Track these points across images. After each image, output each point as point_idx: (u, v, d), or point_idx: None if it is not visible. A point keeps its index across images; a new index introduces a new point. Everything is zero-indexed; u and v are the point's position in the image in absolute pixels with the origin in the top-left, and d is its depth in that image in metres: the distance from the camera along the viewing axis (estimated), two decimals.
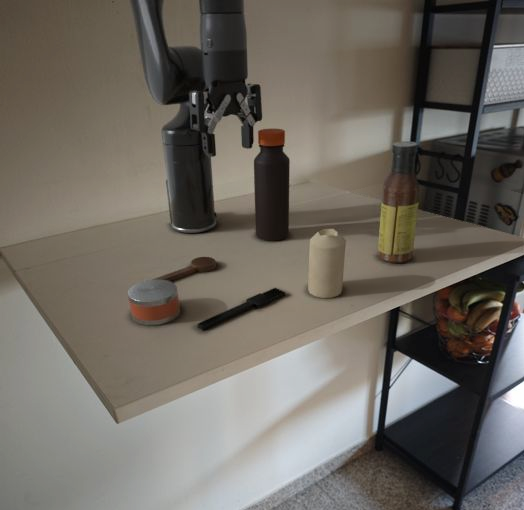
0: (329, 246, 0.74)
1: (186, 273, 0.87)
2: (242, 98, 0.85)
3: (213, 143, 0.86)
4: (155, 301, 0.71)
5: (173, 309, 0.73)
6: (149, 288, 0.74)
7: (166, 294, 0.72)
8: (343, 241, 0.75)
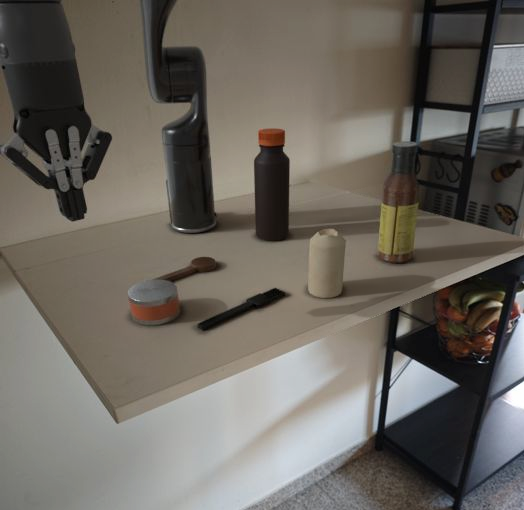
0: (329, 246, 0.74)
1: (186, 273, 0.87)
2: (77, 137, 0.56)
3: (71, 203, 0.59)
4: (155, 301, 0.71)
5: (173, 309, 0.73)
6: (149, 288, 0.74)
7: (166, 294, 0.72)
8: (343, 241, 0.75)
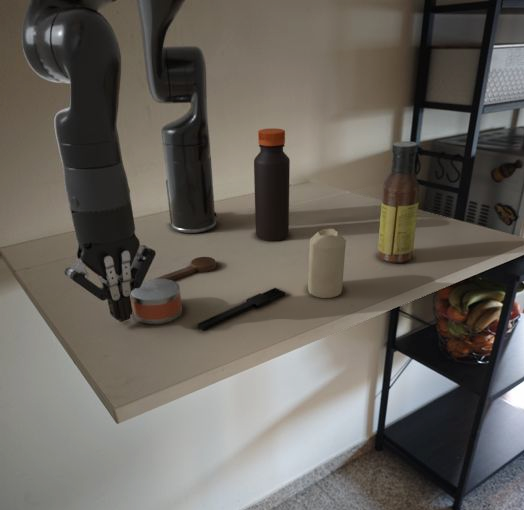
0: (329, 246, 0.74)
1: (186, 273, 0.87)
2: (128, 259, 0.67)
3: (121, 308, 0.70)
4: (158, 300, 0.71)
5: (176, 308, 0.74)
6: (152, 287, 0.74)
7: (169, 293, 0.73)
8: (343, 241, 0.75)
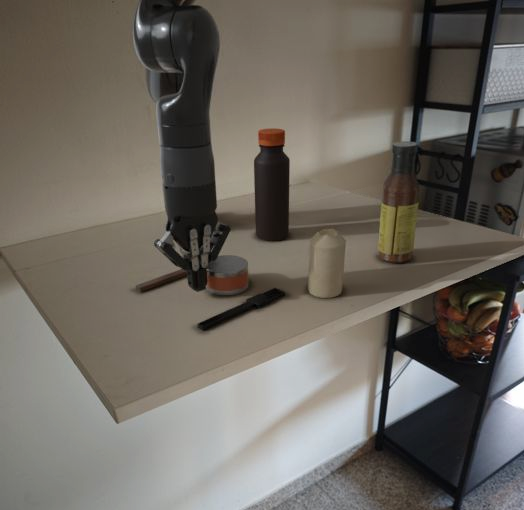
0: (329, 246, 0.74)
1: (186, 273, 0.87)
2: (209, 232, 0.74)
3: (199, 279, 0.77)
4: (231, 273, 0.78)
5: (245, 280, 0.81)
6: (222, 262, 0.82)
7: (239, 267, 0.80)
8: (343, 241, 0.75)
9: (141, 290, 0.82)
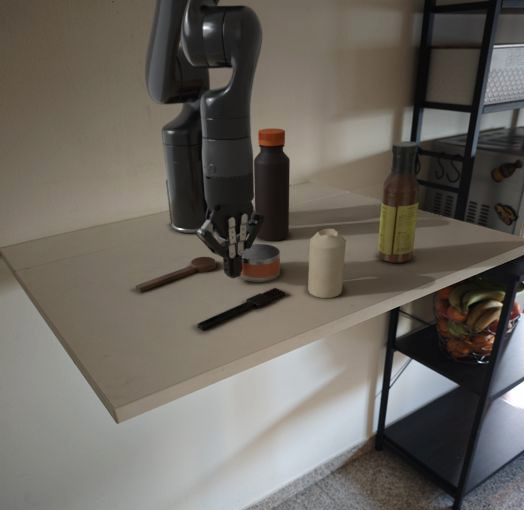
0: (329, 246, 0.74)
1: (186, 273, 0.87)
2: (246, 221, 0.78)
3: (235, 266, 0.81)
4: (265, 260, 0.82)
5: (277, 268, 0.85)
6: (255, 250, 0.85)
7: (272, 254, 0.84)
8: (343, 241, 0.75)
9: (141, 290, 0.82)
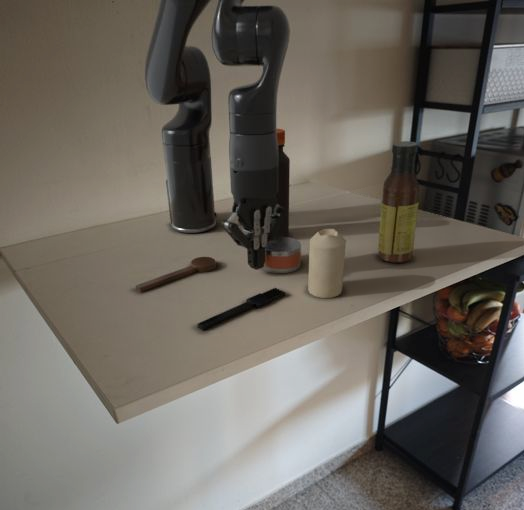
0: (329, 246, 0.74)
1: (186, 273, 0.87)
2: (270, 214, 0.81)
3: (258, 257, 0.84)
4: (288, 252, 0.85)
5: (298, 259, 0.88)
6: (277, 243, 0.88)
7: (294, 246, 0.87)
8: (343, 241, 0.75)
9: (141, 290, 0.82)
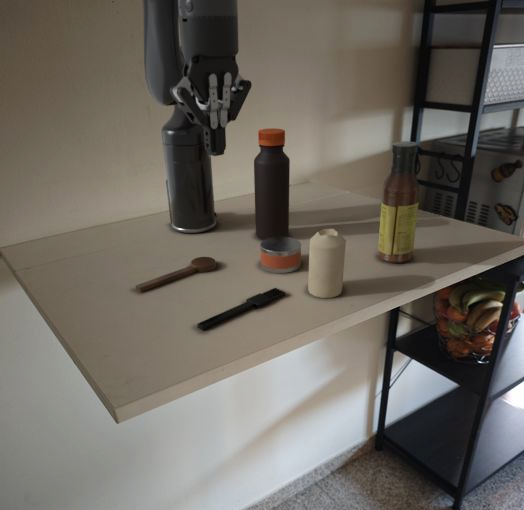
0: (329, 246, 0.74)
1: (186, 273, 0.87)
2: (229, 82, 0.68)
3: (217, 140, 0.71)
4: (288, 252, 0.85)
5: (299, 259, 0.88)
6: (277, 242, 0.88)
7: (294, 246, 0.87)
8: (343, 241, 0.75)
9: (141, 290, 0.82)
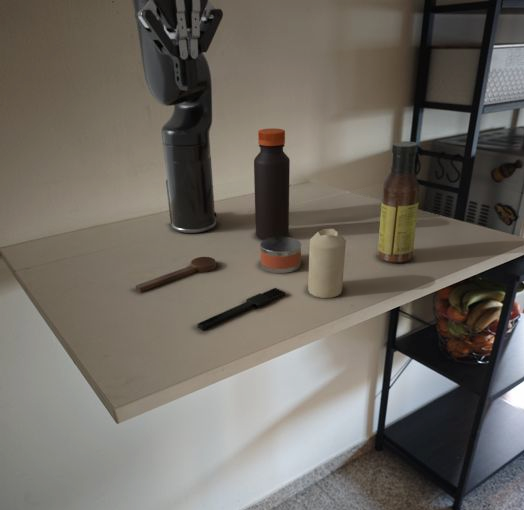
0: (329, 246, 0.74)
1: (186, 273, 0.87)
2: (198, 8, 0.65)
3: (188, 72, 0.68)
4: (288, 252, 0.85)
5: (299, 259, 0.88)
6: (277, 242, 0.88)
7: (294, 246, 0.87)
8: (343, 241, 0.75)
9: (141, 290, 0.82)
